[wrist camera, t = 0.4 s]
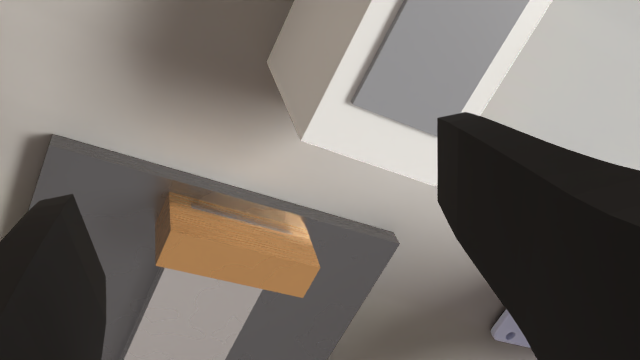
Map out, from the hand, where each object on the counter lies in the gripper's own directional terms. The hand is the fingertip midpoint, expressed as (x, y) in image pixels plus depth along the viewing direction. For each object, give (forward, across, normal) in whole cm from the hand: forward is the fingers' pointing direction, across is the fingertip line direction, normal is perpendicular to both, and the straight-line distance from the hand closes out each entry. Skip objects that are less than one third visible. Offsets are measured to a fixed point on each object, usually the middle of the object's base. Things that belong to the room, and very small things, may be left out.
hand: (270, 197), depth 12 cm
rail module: (+10, -5, -1) cm, 11 cm away
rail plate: (+10, +5, +14) cm, 18 cm away
